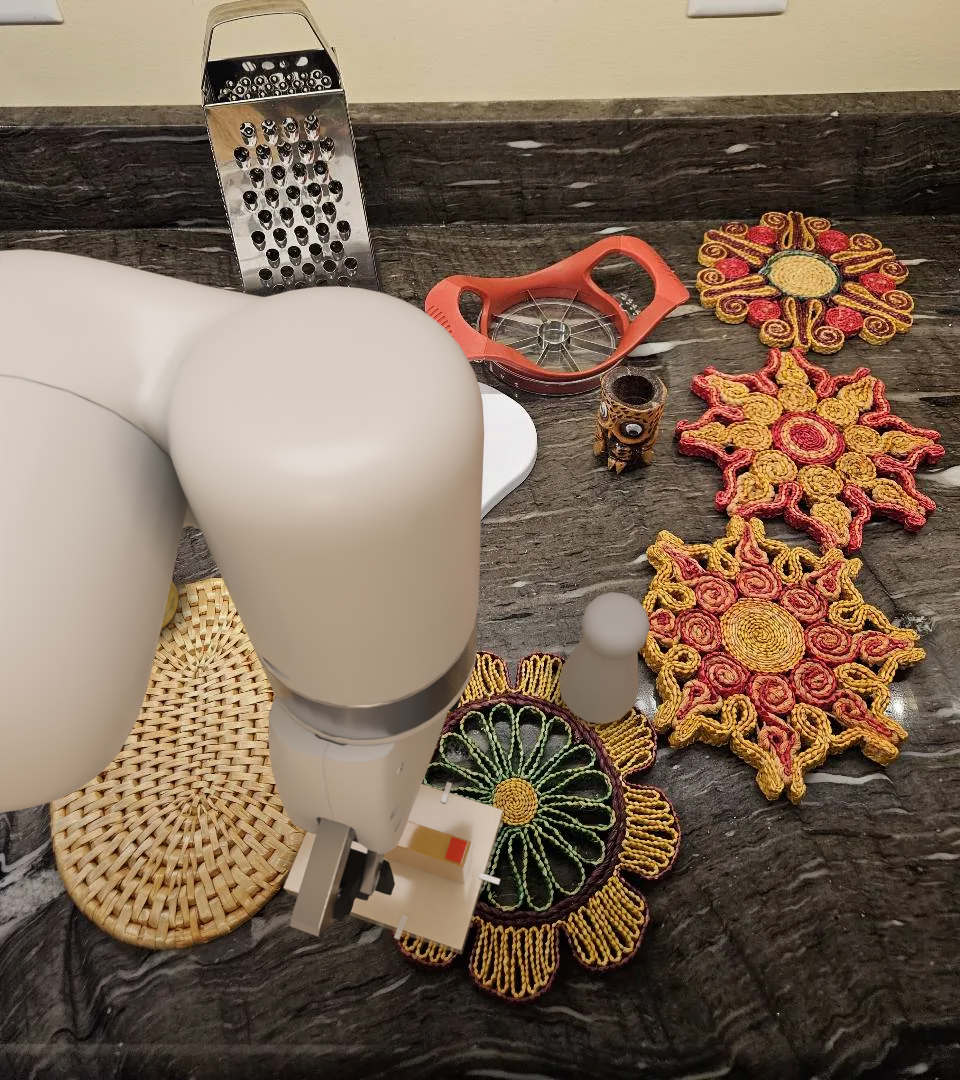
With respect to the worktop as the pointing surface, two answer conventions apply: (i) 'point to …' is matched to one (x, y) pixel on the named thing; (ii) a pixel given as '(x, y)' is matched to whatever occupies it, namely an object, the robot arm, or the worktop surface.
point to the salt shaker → (605, 659)
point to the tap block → (427, 874)
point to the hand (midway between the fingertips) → (398, 783)
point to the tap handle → (433, 852)
